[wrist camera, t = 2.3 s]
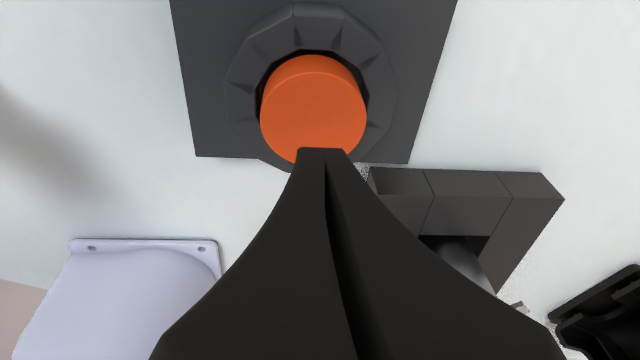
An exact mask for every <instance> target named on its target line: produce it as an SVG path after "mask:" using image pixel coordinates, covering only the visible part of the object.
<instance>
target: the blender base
mask: <svg viewBox="0 0 640 360" xmlns="http://www.w3.org/2000/svg"><path fill="white" fill-rule="evenodd" d="M367 184H368V185H369V186H370V188H371V189H372V190H373V191H374V193H375V194H376V195H377V196H378V198H379V199H380V200H381V201H382V202H383V204H384V205H385V206H386V207H387V208H388V209H389V210H390V211H391V213H392V214H393V215H394V216H395V217H396V218H397V219H398V220H399V221H400V222H401V223H402V224H403V225H404V226H405V227H406V228H407V229H408V230H409V231H410V232H411V233H413V234H414V235H415V236H416V237H417V238H418V236H419V235H465V236H466V238H467V240H468V242H469V243H470V245H471V247H472V249H473V251H474V253H475V255H476V257H477V259H478V261H479V263H480V265H481V267H482V269H483V271H484V273H485V275H486V277H487V279H488V280H489V282H490V284H491V286H492V288H493V290H494V292H495V294H497V293H498V292H499V290H500V289H501V287H502V286H503V285H504V283H505V282H506V280H507V279H508V278H509V276H510V275H511V274H512V272H513V271H514V269H515V268H516V267H517V265H518V264H519V263H520V261H521V260H522V258H523V257H524V256H525V254H526V253H527V251H528V250H529V249H530V247H531V246H532V245H533V243H534V242H535V240H536V239H537V238H538V236H539V235H540V233H541V232H542V231H543V229H544V228H545V227H546V225H547V224H548V222H549V221H550V220H551V218H552V217H553V215H554V214H555V213H556V211H557V210H558V209H559V207H560V206H561V204H562V203H563V202H564V200H565V199H564V197H563V196H562V195H561V194H560V193H559V192H558V191H557V190H556V189H555V188H554V186H553V185H552V184H551V183H550V182H549V181H548V180H547V179H546V178H545V177H544V175H543V174H542V173H532V172H502V171H494V172H493V171H471V170H441V169H408V168H377V167H370V170H369V175H368V179H367Z"/></svg>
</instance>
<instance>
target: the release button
mask: <svg viewBox="0 0 640 360" xmlns="http://www.w3.org/2000/svg"><path fill="white" fill-rule="evenodd" d="M366 121H367V113H366V108H365V104H364V101H363V99H362V96H361V93H360V90H359V87H358V84H357V82H356V80H355V78H354V76H353V75H352V73H351V72H350V71H349V70H348V69H347V68H346V67H345V66H344V65H343V64H341V63H340V62H338V61H336V60H334V59H332V58H330V57H326V56H322V55H302V56H298V57H295V58H292V59H290V60H288V61H286V62H284V63H283V64H281V65H280V66H279V67H278V68H277V69H276V70H275V71H274V72H273V73H272V74H271V76H270V77H269V79H268V81H267V83H266V85H265V88H264V93H263V99H262V105H261V112H260V127H261V131H262V134H263V137H264V139H265V141H266V142H267V144H268V145H269V146H270V148H271V149H272V150H273V151H274V152H275V153H276V154H278V155H279V156H280V157H282V158H284V159H285V160H287V161H290V162H292V163H295V160H296V155H297V149H299V148H300V147H322V148H342V149H343V150H344V151H345V153H346V154H348V153H350V152H351V151H352V150H353V149H354V148H355V147H356V145H357V144H358V143H359V141H360V140H361V138H362V136H363V133H364V131H365V127H366Z"/></svg>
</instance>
